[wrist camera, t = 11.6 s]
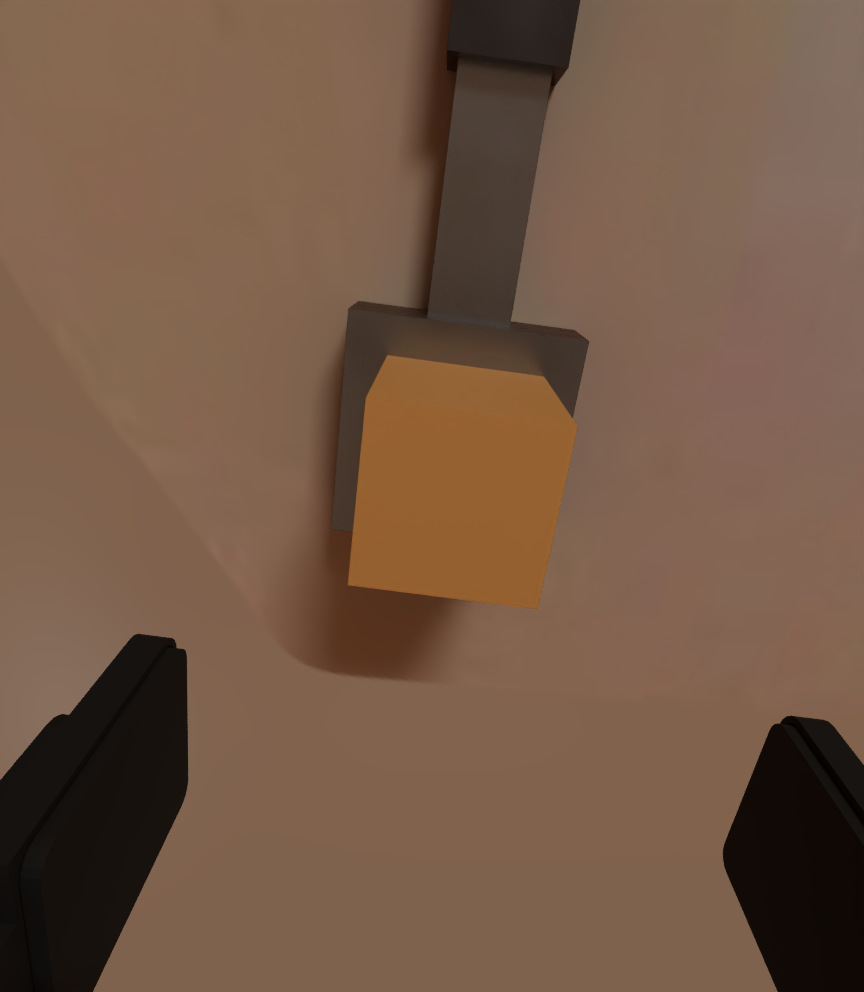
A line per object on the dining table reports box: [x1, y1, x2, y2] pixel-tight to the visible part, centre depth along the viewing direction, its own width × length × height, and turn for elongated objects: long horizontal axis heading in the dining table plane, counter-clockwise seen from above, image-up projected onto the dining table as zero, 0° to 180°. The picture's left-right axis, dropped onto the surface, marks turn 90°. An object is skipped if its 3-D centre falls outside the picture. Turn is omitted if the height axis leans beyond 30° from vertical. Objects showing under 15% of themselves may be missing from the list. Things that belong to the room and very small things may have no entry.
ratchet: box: [331, 0, 589, 532], centre depth 22 cm, size 29×9×6 cm, turn 173°
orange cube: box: [348, 355, 578, 609], centre depth 23 cm, size 6×6×7 cm
